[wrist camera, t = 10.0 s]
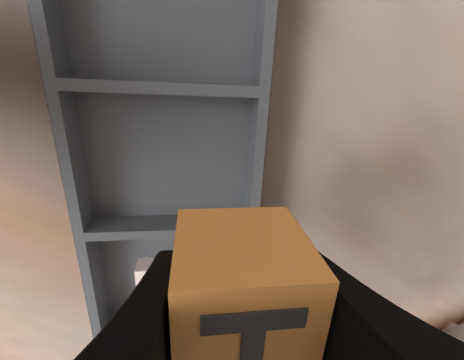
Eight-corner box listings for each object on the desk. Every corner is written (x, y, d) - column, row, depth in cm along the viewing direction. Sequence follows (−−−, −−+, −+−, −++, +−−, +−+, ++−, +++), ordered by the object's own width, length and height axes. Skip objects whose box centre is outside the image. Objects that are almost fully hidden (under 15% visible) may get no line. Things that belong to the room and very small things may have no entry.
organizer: (105, 316, 21) (94, 345, 19) (29, -130, 12) (-8, -178, 10) (243, 307, 23) (249, 331, 21) (274, -97, 13) (289, -131, 11)
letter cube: (181, 296, 11) (174, 411, 7) (178, 209, 10) (167, 295, 6) (276, 290, 11) (315, 394, 8) (286, 206, 10) (341, 284, 6)
